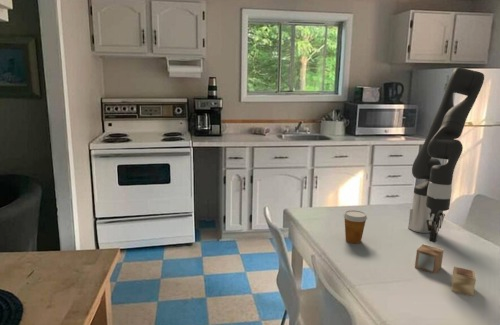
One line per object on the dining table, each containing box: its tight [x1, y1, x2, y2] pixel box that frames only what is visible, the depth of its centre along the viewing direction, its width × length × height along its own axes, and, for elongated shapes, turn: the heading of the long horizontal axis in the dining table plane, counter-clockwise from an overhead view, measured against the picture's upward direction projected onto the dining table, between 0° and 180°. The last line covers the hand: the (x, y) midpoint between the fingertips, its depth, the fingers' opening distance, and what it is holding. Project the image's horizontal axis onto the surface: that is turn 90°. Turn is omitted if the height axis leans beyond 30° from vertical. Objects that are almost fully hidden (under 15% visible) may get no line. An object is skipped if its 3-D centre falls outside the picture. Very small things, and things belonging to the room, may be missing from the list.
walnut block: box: [414, 243, 445, 275], centre depth 134 cm, size 7×7×7 cm
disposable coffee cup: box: [343, 209, 368, 244], centre depth 157 cm, size 10×10×12 cm
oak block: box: [451, 266, 477, 297], centre depth 120 cm, size 6×6×6 cm
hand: (432, 241), depth 135 cm, fingers closed
